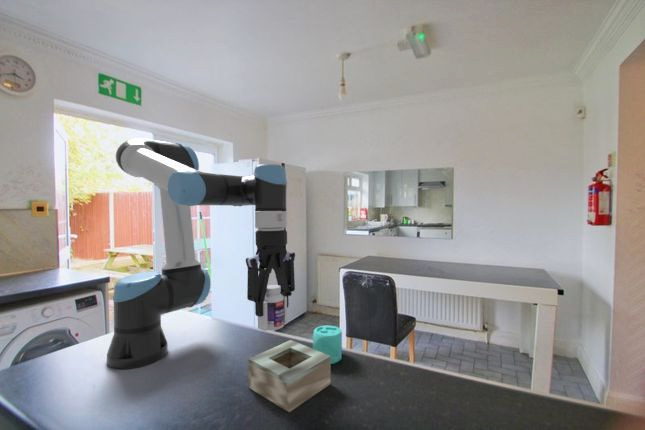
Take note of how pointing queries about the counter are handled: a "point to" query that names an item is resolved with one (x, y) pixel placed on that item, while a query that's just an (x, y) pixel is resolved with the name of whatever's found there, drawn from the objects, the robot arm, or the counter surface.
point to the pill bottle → (274, 307)
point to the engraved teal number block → (328, 341)
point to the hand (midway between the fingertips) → (272, 325)
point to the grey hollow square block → (289, 374)
